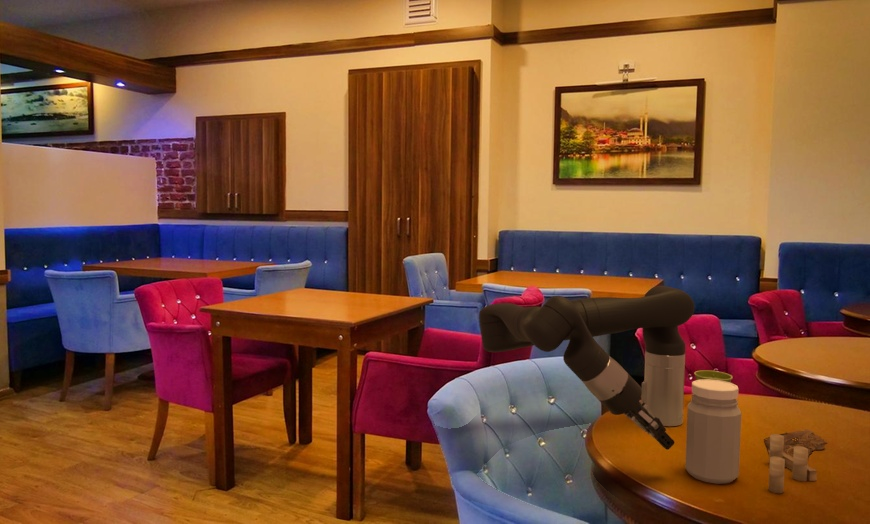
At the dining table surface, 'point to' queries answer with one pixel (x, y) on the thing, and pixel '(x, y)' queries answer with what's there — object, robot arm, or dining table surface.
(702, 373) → the plant pot
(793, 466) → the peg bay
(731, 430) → the jar
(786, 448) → the wooden fragment
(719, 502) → the dining table surface
